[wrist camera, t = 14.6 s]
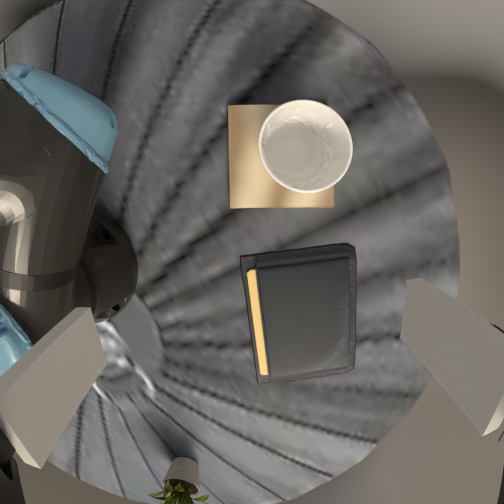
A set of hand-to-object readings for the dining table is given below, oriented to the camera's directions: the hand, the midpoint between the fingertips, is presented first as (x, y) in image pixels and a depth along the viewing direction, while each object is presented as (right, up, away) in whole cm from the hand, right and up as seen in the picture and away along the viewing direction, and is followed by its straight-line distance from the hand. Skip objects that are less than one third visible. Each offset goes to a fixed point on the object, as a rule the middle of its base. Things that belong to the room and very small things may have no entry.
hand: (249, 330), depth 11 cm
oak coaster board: (+3, +14, +23) cm, 27 cm away
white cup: (+4, +14, +22) cm, 26 cm away
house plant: (-12, -39, +35) cm, 54 cm away
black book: (+7, -6, +29) cm, 30 cm away
